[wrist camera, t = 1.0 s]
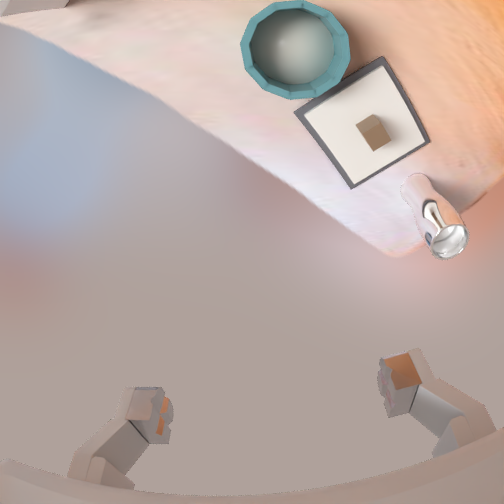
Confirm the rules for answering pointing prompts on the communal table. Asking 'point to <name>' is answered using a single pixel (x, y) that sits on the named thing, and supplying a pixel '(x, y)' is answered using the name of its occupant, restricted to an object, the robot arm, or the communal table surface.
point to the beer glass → (435, 218)
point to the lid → (366, 125)
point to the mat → (342, 85)
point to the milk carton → (29, 6)
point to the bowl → (295, 49)
